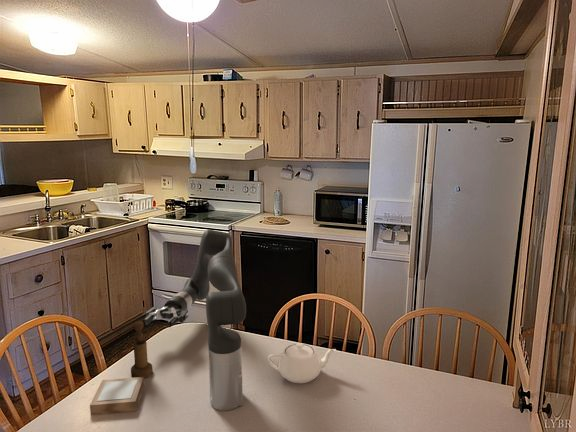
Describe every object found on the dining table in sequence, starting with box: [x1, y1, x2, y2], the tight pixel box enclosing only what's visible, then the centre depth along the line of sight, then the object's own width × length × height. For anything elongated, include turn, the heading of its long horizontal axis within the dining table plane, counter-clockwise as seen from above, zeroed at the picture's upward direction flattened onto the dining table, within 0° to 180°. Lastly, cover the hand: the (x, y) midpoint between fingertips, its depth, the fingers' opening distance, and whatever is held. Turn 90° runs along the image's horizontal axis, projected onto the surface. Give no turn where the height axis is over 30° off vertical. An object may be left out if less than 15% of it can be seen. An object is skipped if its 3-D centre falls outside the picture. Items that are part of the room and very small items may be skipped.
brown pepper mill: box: [130, 320, 154, 379], centre depth 133 cm, size 7×6×18 cm
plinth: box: [89, 377, 145, 416], centre depth 121 cm, size 12×12×3 cm
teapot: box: [267, 342, 337, 384], centre depth 133 cm, size 22×14×11 cm, turn 94°
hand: (157, 323), depth 143 cm, fingers open, 8 cm apart
